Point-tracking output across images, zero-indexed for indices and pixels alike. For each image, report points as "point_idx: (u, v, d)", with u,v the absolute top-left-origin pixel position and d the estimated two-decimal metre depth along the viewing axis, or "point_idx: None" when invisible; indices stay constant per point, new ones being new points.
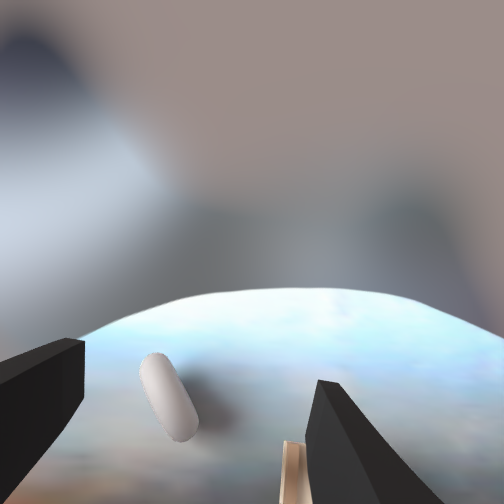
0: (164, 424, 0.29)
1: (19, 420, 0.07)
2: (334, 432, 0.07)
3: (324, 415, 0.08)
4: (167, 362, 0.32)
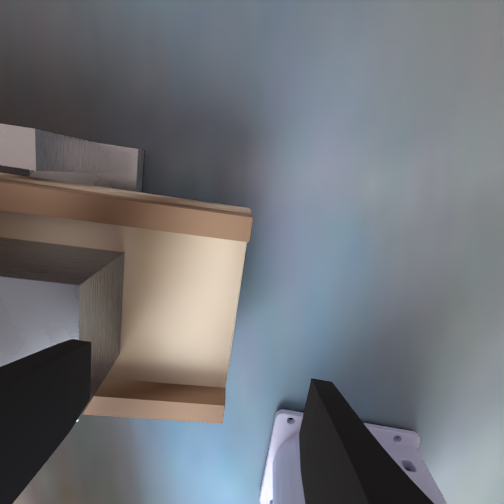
0: None
1: (27, 422, 0.07)
2: (326, 431, 0.07)
3: (316, 414, 0.08)
4: None
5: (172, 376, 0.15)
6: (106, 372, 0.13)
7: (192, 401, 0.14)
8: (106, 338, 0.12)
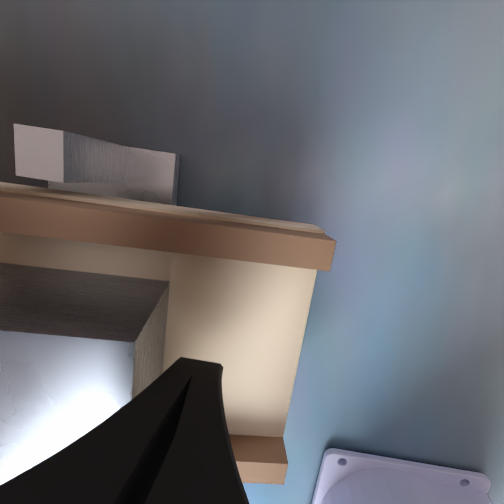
0: None
1: (169, 446, 0.07)
2: None
3: None
4: None
5: None
6: None
7: (248, 458, 0.11)
8: None
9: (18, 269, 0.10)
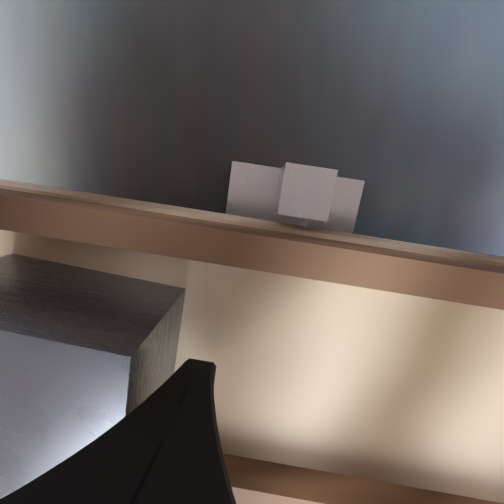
0: None
1: None
2: None
3: None
4: None
5: (441, 483, 0.11)
6: None
7: None
8: None
9: (38, 264, 0.10)
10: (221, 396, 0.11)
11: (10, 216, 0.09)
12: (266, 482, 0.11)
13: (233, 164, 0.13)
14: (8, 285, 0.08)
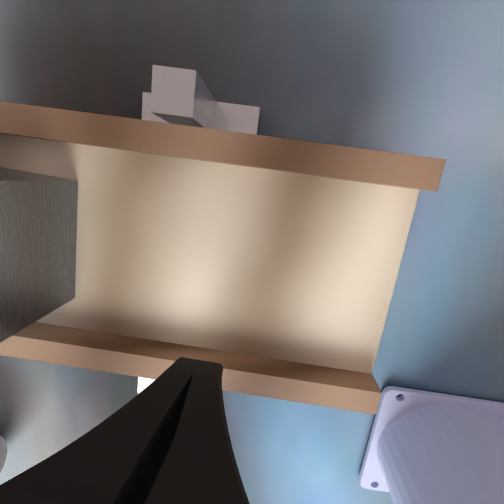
0: None
1: (169, 446, 0.07)
2: None
3: None
4: None
5: (311, 356, 0.13)
6: (47, 310, 0.11)
7: (341, 385, 0.12)
8: (45, 269, 0.11)
9: None
10: (118, 281, 0.13)
11: None
12: (155, 352, 0.12)
13: (144, 95, 0.15)
14: None
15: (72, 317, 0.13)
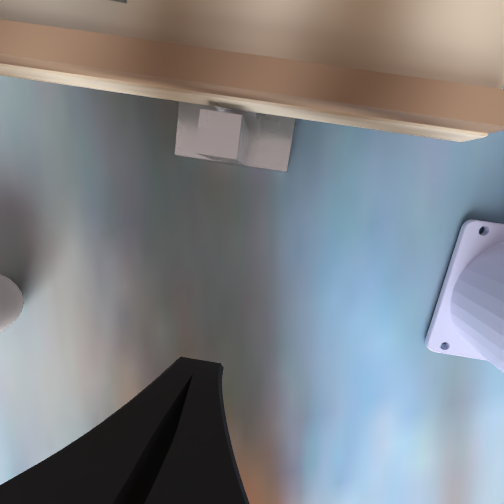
0: None
1: (169, 446, 0.07)
2: None
3: None
4: None
5: None
6: None
7: None
8: None
9: None
10: None
11: None
12: None
13: None
14: None
15: (121, 33, 0.10)
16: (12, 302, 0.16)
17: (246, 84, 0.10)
